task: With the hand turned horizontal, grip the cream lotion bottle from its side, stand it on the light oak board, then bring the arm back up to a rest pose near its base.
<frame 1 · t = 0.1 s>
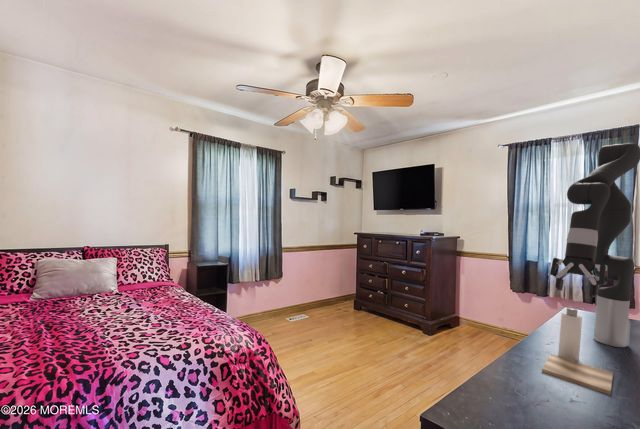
hand: (575, 293, 101), 22 cm above the table, tool pointing down, fingers open, 8 cm apart
oak board: (577, 373, 93), on the table
lotion bottle: (568, 357, 105), on the table
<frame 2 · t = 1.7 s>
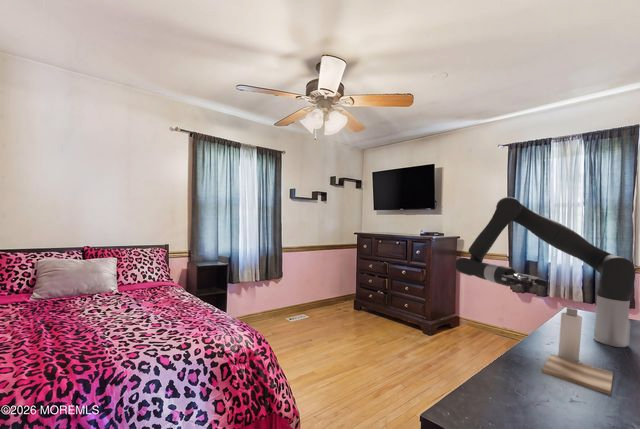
hand: (540, 284, 114), 22 cm above the table, tool horizontal, fingers open, 8 cm apart
nothing on the table moved.
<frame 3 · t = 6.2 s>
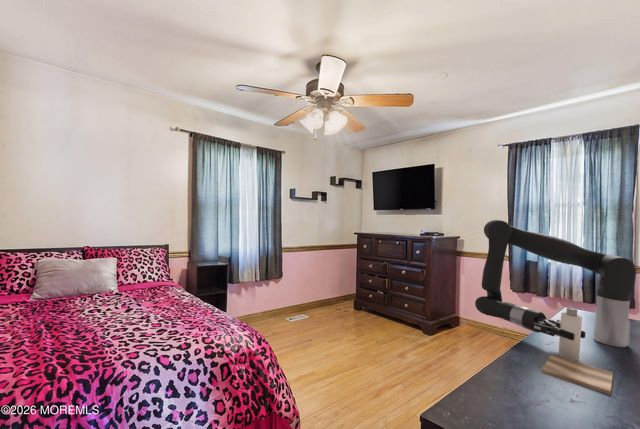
hand: (579, 336, 102), 8 cm above the table, tool horizontal, fingers closed on lotion bottle, 5 cm apart
lotion bottle: (568, 356, 105), on the table, touching gripper
when the fingers open (10 cm above the table, at t = 10.6 s): lotion bottle drops 1 cm, resting on oak board.
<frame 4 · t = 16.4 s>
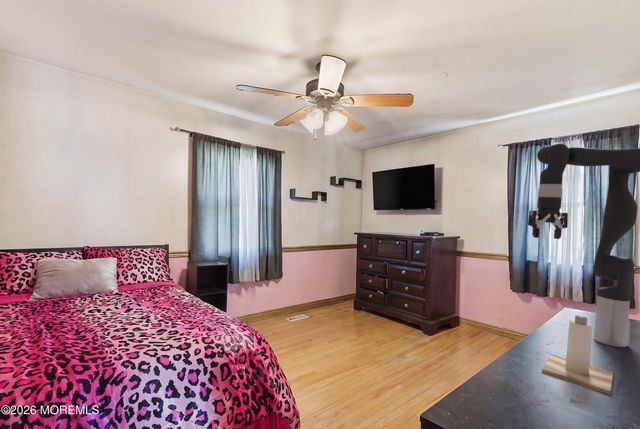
hand: (546, 238, 122), 38 cm above the table, tool pointing down, fingers open, 8 cm apart
lotion bottle: (577, 370, 94), point 1 cm above the table, touching oak board
at the end: lotion bottle 0.2 cm from the oak board (horizontally); lotion bottle tilted 0°; the gripper is holding nothing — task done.
